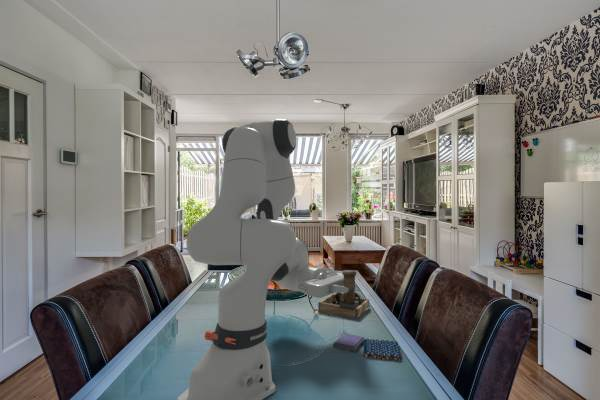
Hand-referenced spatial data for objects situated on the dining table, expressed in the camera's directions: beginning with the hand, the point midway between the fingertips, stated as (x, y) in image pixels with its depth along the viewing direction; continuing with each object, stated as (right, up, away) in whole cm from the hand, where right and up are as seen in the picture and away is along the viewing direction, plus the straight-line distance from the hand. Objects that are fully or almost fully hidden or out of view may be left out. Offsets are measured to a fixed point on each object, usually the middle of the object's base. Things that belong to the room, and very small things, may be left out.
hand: (351, 288), depth 103 cm
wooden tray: (+2, -17, +32) cm, 36 cm away
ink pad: (-1, -17, +1) cm, 17 cm away
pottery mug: (+3, -17, +33) cm, 37 cm away
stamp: (-1, -6, +1) cm, 6 cm away
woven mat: (+8, -18, -4) cm, 20 cm away
